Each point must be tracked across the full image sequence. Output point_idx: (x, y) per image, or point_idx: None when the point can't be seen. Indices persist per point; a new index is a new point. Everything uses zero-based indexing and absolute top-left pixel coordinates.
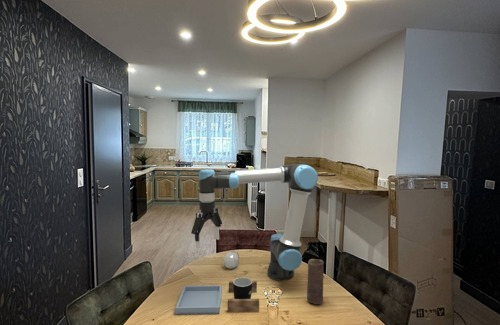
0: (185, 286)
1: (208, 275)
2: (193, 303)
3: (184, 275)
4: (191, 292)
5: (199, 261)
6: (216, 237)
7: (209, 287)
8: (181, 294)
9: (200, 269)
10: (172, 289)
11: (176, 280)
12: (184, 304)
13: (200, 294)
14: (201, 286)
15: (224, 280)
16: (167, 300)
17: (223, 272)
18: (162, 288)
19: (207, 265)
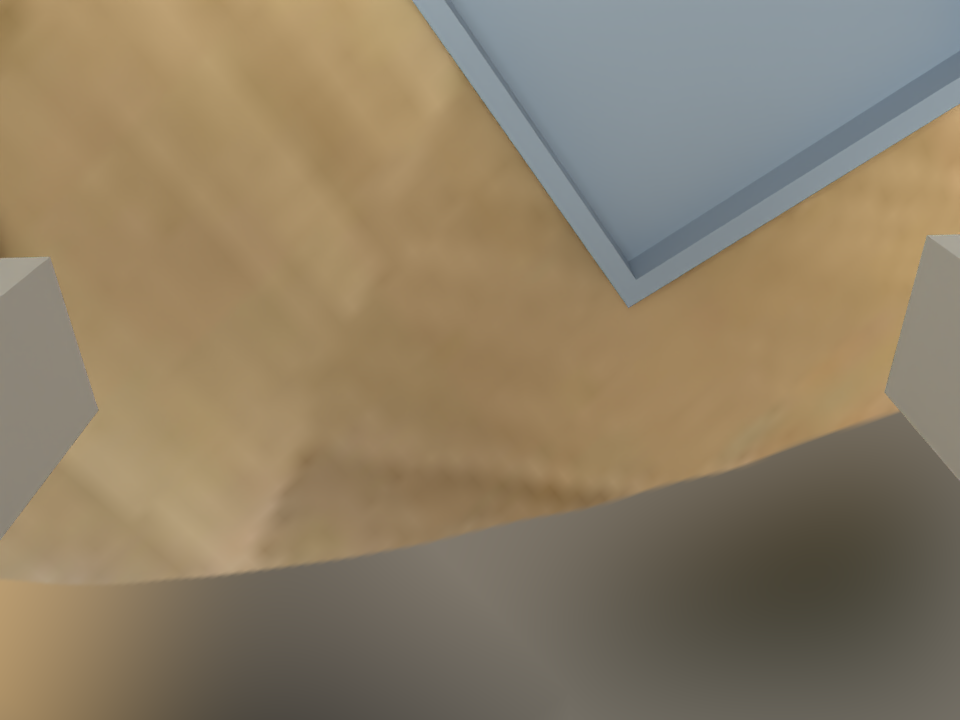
0: (632, 286)
1: (226, 308)
2: (790, 9)
3: (390, 485)
4: (621, 192)
5: (95, 565)
6: (39, 352)
7: (482, 54)
8: (787, 201)
9: (199, 454)
10: (645, 392)
11: (503, 475)
12: (844, 82)
13: (603, 79)
14: (538, 139)
15: (171, 78)
16: (818, 292)
17: (50, 219)
18: (675, 468)
19: (86, 457)
